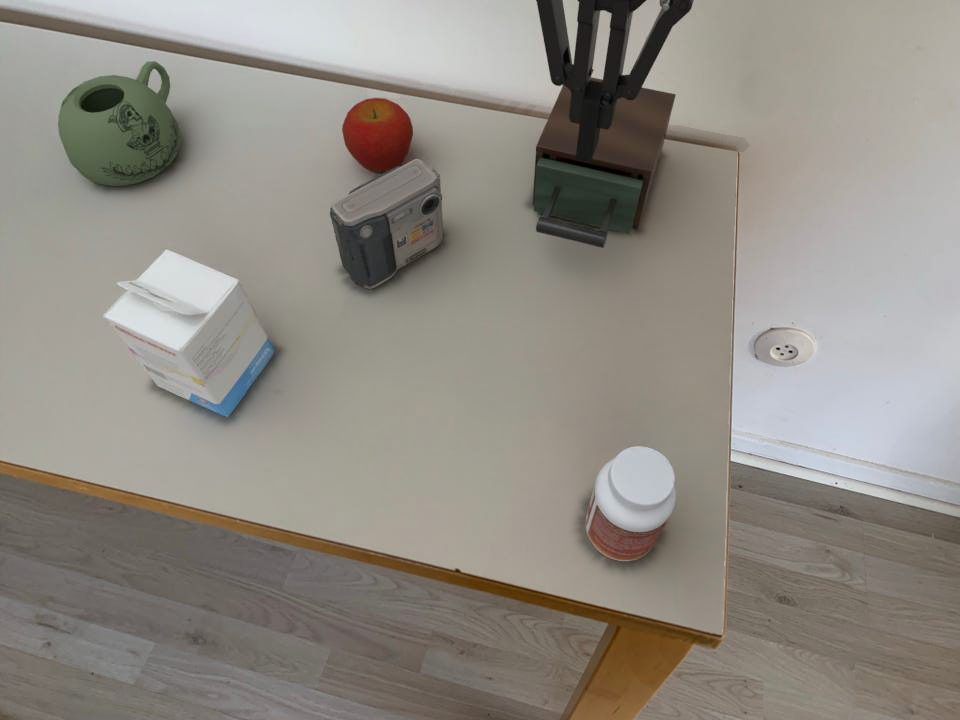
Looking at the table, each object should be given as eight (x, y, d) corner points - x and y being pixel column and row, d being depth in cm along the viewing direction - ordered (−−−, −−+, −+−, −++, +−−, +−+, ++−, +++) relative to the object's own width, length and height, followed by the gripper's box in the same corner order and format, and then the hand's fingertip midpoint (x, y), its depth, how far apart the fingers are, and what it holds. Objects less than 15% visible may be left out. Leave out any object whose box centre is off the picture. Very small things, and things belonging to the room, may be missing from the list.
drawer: (616, 278, 76) (626, 233, 70) (516, 252, 78) (518, 207, 72) (652, 163, 85) (663, 115, 79) (561, 144, 87) (566, 95, 81)
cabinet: (637, 230, 80) (651, 171, 73) (532, 205, 83) (536, 145, 76) (660, 155, 87) (675, 94, 80) (562, 133, 89) (568, 72, 82)
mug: (140, 207, 83) (107, 148, 76) (53, 175, 87) (13, 115, 79) (223, 122, 91) (200, 61, 84) (141, 95, 94) (111, 33, 87)
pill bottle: (667, 554, 61) (699, 506, 52) (596, 570, 60) (615, 523, 51) (643, 486, 64) (669, 429, 55) (575, 500, 64) (590, 445, 54)
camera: (363, 297, 76) (347, 231, 68) (336, 263, 79) (317, 195, 70) (453, 247, 80) (449, 178, 71) (424, 216, 82) (416, 146, 74)
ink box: (277, 352, 73) (237, 265, 61) (226, 420, 69) (174, 340, 57) (208, 322, 75) (156, 232, 63) (154, 386, 71) (89, 302, 59)
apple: (421, 178, 85) (415, 124, 79) (354, 190, 84) (342, 136, 78) (409, 134, 89) (402, 79, 83) (345, 145, 89) (333, 90, 82)
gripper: (734, -139, 49) (664, 138, 69) (546, -166, 51) (531, 110, 71) (715, -84, 45) (647, 193, 65) (514, -115, 48) (508, 161, 68)
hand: (586, 150), depth 68 cm, fingers closed
